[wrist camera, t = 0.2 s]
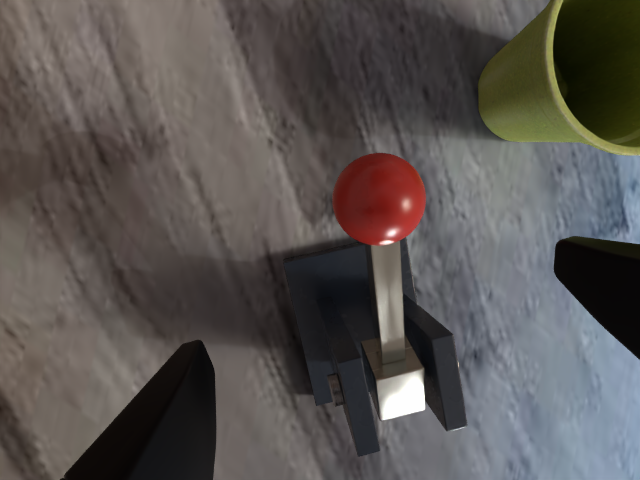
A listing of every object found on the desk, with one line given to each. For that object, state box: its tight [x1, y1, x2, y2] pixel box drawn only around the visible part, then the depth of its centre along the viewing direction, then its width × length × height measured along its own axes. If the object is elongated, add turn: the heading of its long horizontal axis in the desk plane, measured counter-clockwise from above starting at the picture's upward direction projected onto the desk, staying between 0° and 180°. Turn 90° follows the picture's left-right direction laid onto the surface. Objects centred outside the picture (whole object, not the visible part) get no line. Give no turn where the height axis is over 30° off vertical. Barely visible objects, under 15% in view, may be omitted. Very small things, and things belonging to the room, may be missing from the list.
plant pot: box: [478, 0, 640, 155], centre depth 20 cm, size 9×9×9 cm
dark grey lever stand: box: [283, 237, 467, 457], centre depth 20 cm, size 10×8×10 cm
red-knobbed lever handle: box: [332, 153, 426, 421], centre depth 15 cm, size 12×3×3 cm, turn 12°
